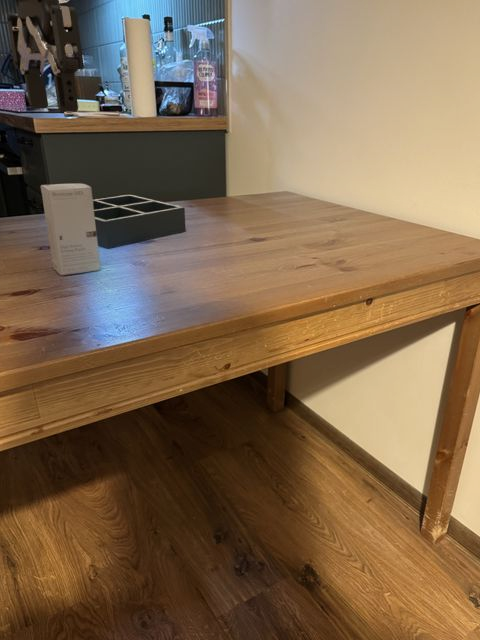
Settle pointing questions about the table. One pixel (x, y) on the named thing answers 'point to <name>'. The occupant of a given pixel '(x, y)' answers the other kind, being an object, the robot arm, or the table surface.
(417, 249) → the table surface
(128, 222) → the grid
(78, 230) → the cosmetic box
